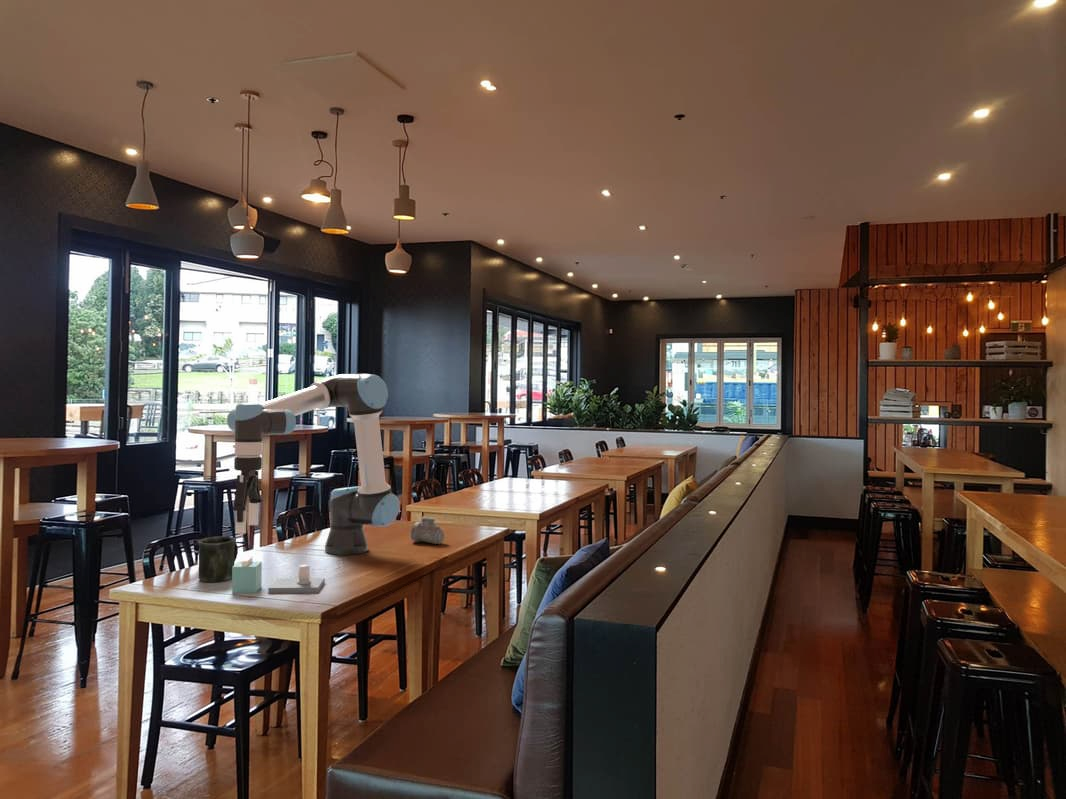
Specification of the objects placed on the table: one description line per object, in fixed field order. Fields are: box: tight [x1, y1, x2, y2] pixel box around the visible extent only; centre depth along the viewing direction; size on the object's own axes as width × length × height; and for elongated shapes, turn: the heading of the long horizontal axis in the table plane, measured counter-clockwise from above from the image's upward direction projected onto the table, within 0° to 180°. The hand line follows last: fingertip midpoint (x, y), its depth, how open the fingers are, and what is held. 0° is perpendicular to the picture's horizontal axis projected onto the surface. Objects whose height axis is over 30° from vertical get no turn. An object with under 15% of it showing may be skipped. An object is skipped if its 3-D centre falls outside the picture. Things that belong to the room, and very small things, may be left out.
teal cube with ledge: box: [231, 556, 263, 594], centre depth 225 cm, size 7×7×9 cm
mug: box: [197, 536, 239, 583], centre depth 238 cm, size 11×15×12 cm
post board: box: [267, 564, 326, 594], centre depth 228 cm, size 11×14×6 cm
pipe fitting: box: [410, 516, 445, 545], centre depth 295 cm, size 12×8×10 cm, turn 62°
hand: (247, 529), depth 224 cm, fingers open, 13 cm apart
